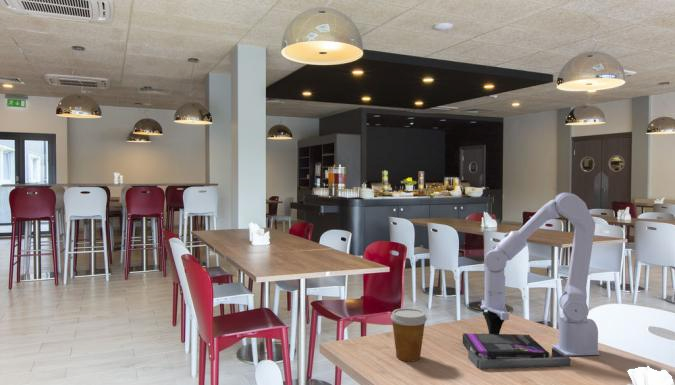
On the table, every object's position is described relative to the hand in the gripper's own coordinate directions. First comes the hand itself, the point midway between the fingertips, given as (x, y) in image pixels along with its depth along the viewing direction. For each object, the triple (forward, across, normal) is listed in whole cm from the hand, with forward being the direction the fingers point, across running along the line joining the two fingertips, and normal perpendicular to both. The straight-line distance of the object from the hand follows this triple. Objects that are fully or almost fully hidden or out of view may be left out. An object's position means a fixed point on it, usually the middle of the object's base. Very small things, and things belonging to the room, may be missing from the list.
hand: (493, 337), depth 140 cm
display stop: (+1, +16, 0) cm, 16 cm away
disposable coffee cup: (+2, +10, -28) cm, 30 cm away
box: (+2, +8, -1) cm, 8 cm away
